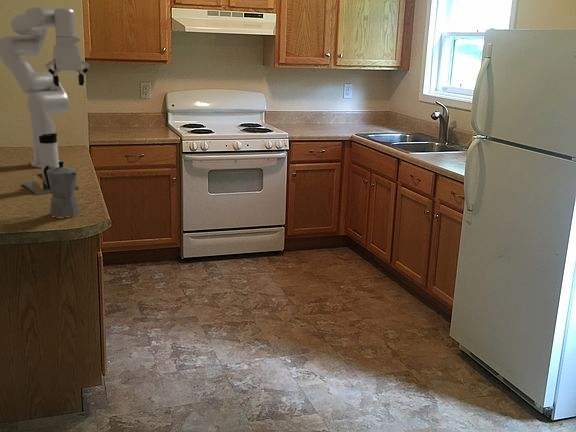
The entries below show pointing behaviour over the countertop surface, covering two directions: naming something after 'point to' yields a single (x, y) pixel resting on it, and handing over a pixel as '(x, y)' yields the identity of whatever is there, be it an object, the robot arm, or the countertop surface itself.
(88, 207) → the countertop surface
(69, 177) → the coffeepot
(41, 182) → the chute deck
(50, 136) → the travel mug
